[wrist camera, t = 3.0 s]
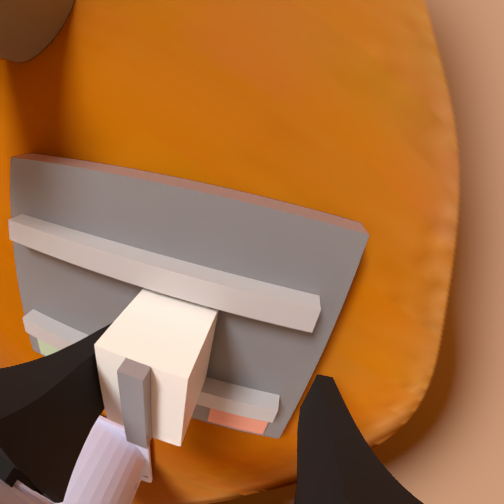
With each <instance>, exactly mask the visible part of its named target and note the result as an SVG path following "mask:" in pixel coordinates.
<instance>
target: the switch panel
mask: <svg viewBox="0 0 504 504" xmlns="http://www.w3.org/2000/svg"><path fill="white" fill-rule="evenodd" d="M10 201H11V219H9V220H8V222H9V235H10V240H12V241H13V247H14V256H15V264H16V271H17V278H18V284H19V290H20V295H21V301H22V306H23V311H24V315H25V316H24V317H23V322H24V326H25V330H26V332H27V333H29V336H30V340H31V344H32V347H33V350H34V351H36V352H38V353H39V354H41V355H43V356H47V355H50V354H52V353H55V352H57V351H59V350H61V349H63V348H65V347H67V346H70V345H72V344H74V343H76V342H78V341H80V340H81V339H83V338H85V337H87V336H89V335H91V334H92V333H94V332H96V331H98V330H100V329H101V328H103V327H105V326H107V325H109V324H110V323H112V322H114V321H115V320H116V319H117V318H118V316H119V315H120V314H121V313H122V312H123V311H124V310H125V308H126V307H127V306H128V305H129V304H130V303H131V302H132V301H133V299H134V298H135V297H136V296H137V295H138V294H139V293H140V292H141V291H142V289H143V288H146V289H149V290H153V291H156V292H159V293H163V294H166V295H169V296H172V297H176V298H179V299H183V300H186V301H190V302H193V303H197V304H200V305H204V306H207V307H211V308H214V309H218V310H219V311H218V316H217V322H216V327H215V332H214V337H213V343H212V348H211V353H210V359H209V364H208V369H207V375H206V379H205V381H204V384H203V387H202V390H201V392H200V395H199V398H198V401H197V403H196V406H195V409H194V411H193V414H192V417H191V418H194V419H197V420H201V421H204V422H208V423H211V424H215V425H219V426H223V427H226V428H230V429H235V430H239V431H243V432H248V433H252V434H257V435H262V436H267V437H272V438H277V439H279V438H280V436H281V434H282V432H283V430H284V429H285V427H286V425H287V423H288V421H289V419H290V418H291V416H292V414H293V412H294V410H295V408H296V406H297V404H298V402H299V400H300V398H301V396H302V394H303V392H304V390H305V388H306V386H307V384H308V382H309V380H310V378H311V376H312V374H313V372H314V370H315V368H316V366H317V363H318V361H319V359H320V357H321V355H322V353H323V350H324V348H325V346H326V344H327V341H328V339H329V337H330V335H331V332H332V330H333V328H334V325H335V323H336V321H337V318H338V316H339V314H340V311H341V309H342V306H343V304H344V301H345V299H346V296H347V294H348V291H349V289H350V286H351V284H352V281H353V279H354V276H355V273H356V271H357V268H358V265H359V263H360V260H361V257H362V254H363V251H364V249H365V246H366V243H367V240H368V237H369V234H368V232H367V231H366V229H365V228H364V227H363V225H362V224H361V223H360V222H356V221H353V220H349V219H346V218H342V217H339V216H335V215H332V214H328V213H324V212H321V211H317V210H313V209H309V208H306V207H302V206H298V205H294V204H290V203H286V202H283V201H279V200H275V199H271V198H267V197H262V196H258V195H254V194H250V193H246V192H242V191H237V190H233V189H229V188H224V187H220V186H215V185H211V184H206V183H202V182H197V181H192V180H187V179H183V178H178V177H173V176H168V175H163V174H158V173H153V172H147V171H142V170H137V169H131V168H126V167H120V166H114V165H109V164H103V163H97V162H90V161H84V160H78V159H71V158H64V157H57V156H50V155H43V154H35V153H28V154H24V155H19V156H14V157H11V169H10Z"/></svg>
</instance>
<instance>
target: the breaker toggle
mask: <svg viewBox="0 0 504 504" xmlns="http://www.w3.org/2000/svg"><path fill="white" fill-rule="evenodd" d="M218 311H219V310H218V309H214V308H211V307H207V306H204V305H200V304H197V303H193V302H190V301H186V300H183V299H179V298H176V297H172V296H169V295H166V294H163V293H159V292H156V291H153V290H149V289H146V288H143V289H142V291H141V292H140V293H139V294H138V295H137V296H136V297H135V298H134V299H133V301H132V302H131V303H130V304H129V305H128V306H127V307H126V308H125V310H124V311H123V312H122V313H121V314H120V315H119V316H118V318H117V319H116V320H115V321H114V322H113V323H112V324H111V326H110V327H109V328H108V329H107V330H106V331H105V333H104V334H103V335H102V336H101V337H100V338H99V340H98V341H97V342H96V343H95V344H94V347H95V355H96V362H97V369H98V375H99V381H100V387H101V392H102V397H103V403H104V407H105V412H106V417H107V419H108V420H110V421H113V422H115V423H117V424H120V425H122V426H124V428H125V434H126V440H127V442H130V443H132V444H135V445H137V446H140V447H143V448H145V449H147V448H148V446H149V443H150V441H151V439H152V437H153V438H156V439H159V440H162V441H164V442H167V443H170V444H173V445H177V446H180V447H181V444H182V441H183V439H184V436H185V433H186V431H187V428H188V425H189V422H190V420H191V417H192V414H193V411H194V409H195V406H196V403H197V401H198V398H199V395H200V392H201V390H202V387H203V384H204V381H205V379H206V375H207V369H208V364H209V359H210V353H211V348H212V343H213V337H214V332H215V327H216V322H217V316H218Z"/></svg>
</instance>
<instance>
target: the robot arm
mask: <svg viewBox="0 0 504 504" xmlns="http://www.w3.org/2000/svg"><path fill="white" fill-rule="evenodd" d="M112 323H113V322H112ZM112 323H110V324H109V325H107V326H105V327H103V328H101V329H100V330H98V331H96V332H94V333H92V334H91V335H89V336H87V337H85V338H83V339H81V340H80V341H78V342H76V343H74V344H72V345H70V346H67V347H65V348H63V349H61V350H59V351H57V352H55V353H52V354H50V355H47V356H45V357H42V358H39V359H36V360H33V361H30V362H27V363H23V364H19V365H15V366H11V367H7V368H1V369H0V504H131V503H132V501H133V498H134V496H135V494H136V491H137V489H138V487H139V484H140V482H141V480H143V481H145V482H148V483H151V482H152V480H153V477H152V467H151V455H150V443H149V446H148V448H147V449H145V448H143V447H140V446H137V445H135V444H132V443H130V442H127V440H126V434H125V428H124V426H122V425H120V424H117V423H115V422H113V421H110V420H108V419H107V418H105V417H103V416H101V415H100V414H101V413H102V411H103V410H104V408H105V407H104V403H103V397H102V392H101V387H100V381H99V375H98V369H97V362H96V355H95V347H94V344H95V343H96V342H97V341H98V340H99V338H100V337H101V336H102V335H103V334H104V333H105V331H106V330H107V329H108V328H109V327H110V326H111V324H112ZM294 504H423V503H422V502H421V501H419V500H418V499H417V498H415V497H414V496H413V495H412V494H411V493H410V492H408V491H407V490H406V489H405V488H404V487H403V486H402V485H401V484H400V483H399V482H398V481H397V480H396V479H395V478H394V477H393V476H392V475H391V473H390V472H389V471H388V470H387V469H386V468H385V467H384V466H383V464H382V463H381V462H380V461H379V459H378V458H377V457H376V455H375V454H374V453H373V451H372V450H371V448H370V447H369V445H368V444H367V442H366V441H365V439H364V438H363V436H362V434H361V433H360V431H359V429H358V427H357V426H356V424H355V422H354V420H353V418H352V416H351V414H350V413H349V411H348V409H347V407H346V405H345V403H344V400H343V398H342V396H341V394H340V392H339V390H338V388H337V386H336V383H335V381H334V379H333V378H332V377H328V376H323V375H317V376H316V378H315V380H314V382H313V384H312V386H311V388H310V390H309V392H308V394H307V396H306V398H305V400H304V402H303V404H302V405H301V407H300V414H299V422H298V431H297V487H296V495H295V501H294Z"/></svg>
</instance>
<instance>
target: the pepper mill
mask: <svg viewBox="0 0 504 504" xmlns="http://www.w3.org/2000/svg"><path fill="white" fill-rule="evenodd" d="M73 4H74V0H0V58H2V59H6V60H9V61H13V62H18V63H22V62H25V61H28V60H31V59H32V58H34V57H35V56H37V55H38V54H39V53H41V52H42V51H43V50H44V49H45V48H46V47H47V46H48V45H49V44H50V43H51V42H52V41H53V39H54V38H55V37H56V35H57V34H58V32H59V31H60V29H61V28H62V26H63V25H64V24H65V22H66V19H67V17H68V15H69V13H70V11H71V9H72V7H73Z"/></svg>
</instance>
